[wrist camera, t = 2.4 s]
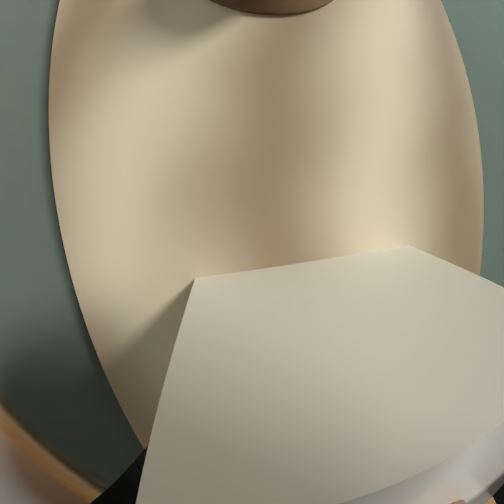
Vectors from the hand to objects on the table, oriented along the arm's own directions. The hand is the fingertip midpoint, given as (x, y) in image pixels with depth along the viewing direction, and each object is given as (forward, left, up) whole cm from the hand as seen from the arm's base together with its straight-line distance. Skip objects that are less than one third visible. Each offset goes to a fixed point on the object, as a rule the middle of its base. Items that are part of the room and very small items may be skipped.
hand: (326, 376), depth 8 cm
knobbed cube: (0, 0, -1) cm, 1 cm away
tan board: (0, -7, -2) cm, 7 cm away
